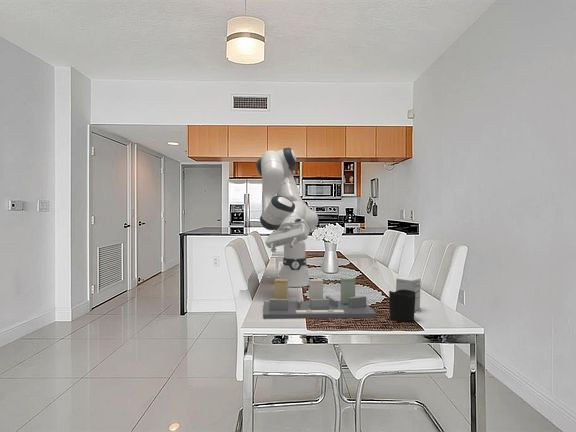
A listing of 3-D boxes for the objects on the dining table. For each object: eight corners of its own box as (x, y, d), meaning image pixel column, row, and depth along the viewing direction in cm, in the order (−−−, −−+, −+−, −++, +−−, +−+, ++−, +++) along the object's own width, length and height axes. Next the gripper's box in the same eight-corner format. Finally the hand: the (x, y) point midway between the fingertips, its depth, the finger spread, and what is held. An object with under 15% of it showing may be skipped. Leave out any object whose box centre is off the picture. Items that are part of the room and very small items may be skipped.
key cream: (308, 303, 175) (308, 279, 175) (321, 303, 176) (321, 279, 176) (310, 305, 172) (310, 280, 172) (323, 305, 173) (323, 280, 172)
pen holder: (415, 323, 155) (415, 295, 154) (388, 321, 157) (388, 293, 157) (415, 316, 164) (415, 290, 164) (389, 314, 166) (389, 288, 166)
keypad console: (263, 305, 181) (263, 291, 180) (363, 304, 183) (363, 291, 183) (263, 318, 160) (263, 303, 159) (376, 317, 162) (376, 302, 162)
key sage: (340, 302, 178) (340, 278, 178) (351, 301, 181) (351, 277, 180) (344, 303, 175) (344, 279, 175) (355, 302, 178) (355, 278, 177)
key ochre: (275, 303, 176) (275, 278, 175) (288, 303, 175) (288, 279, 175) (274, 305, 172) (274, 280, 172) (287, 305, 172) (287, 280, 172)
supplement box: (395, 309, 175) (395, 278, 174) (403, 306, 180) (404, 275, 180) (412, 312, 170) (412, 280, 169) (420, 309, 175) (421, 277, 175)
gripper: (267, 228, 198) (258, 248, 188) (306, 217, 188) (298, 238, 178) (274, 238, 201) (265, 258, 191) (313, 228, 191) (305, 249, 181)
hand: (281, 248), depth 184 cm, fingers open, 8 cm apart
